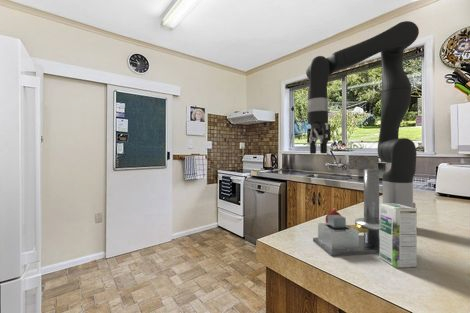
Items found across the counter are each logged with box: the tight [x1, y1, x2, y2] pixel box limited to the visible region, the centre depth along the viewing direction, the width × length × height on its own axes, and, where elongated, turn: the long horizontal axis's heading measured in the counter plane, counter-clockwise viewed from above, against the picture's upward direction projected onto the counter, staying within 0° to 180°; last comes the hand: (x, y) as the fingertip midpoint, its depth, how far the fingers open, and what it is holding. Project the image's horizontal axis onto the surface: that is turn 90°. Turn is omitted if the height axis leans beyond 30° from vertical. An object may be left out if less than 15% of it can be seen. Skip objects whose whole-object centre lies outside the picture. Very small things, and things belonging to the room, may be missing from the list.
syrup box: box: [379, 203, 418, 269], centre depth 57 cm, size 6×6×14 cm
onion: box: [325, 208, 342, 223], centre depth 82 cm, size 6×6×8 cm
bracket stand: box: [312, 168, 380, 257], centre depth 68 cm, size 20×11×23 cm, turn 96°
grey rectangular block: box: [328, 214, 347, 230], centre depth 68 cm, size 4×4×8 cm
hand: (318, 153), depth 87 cm, fingers open, 8 cm apart
